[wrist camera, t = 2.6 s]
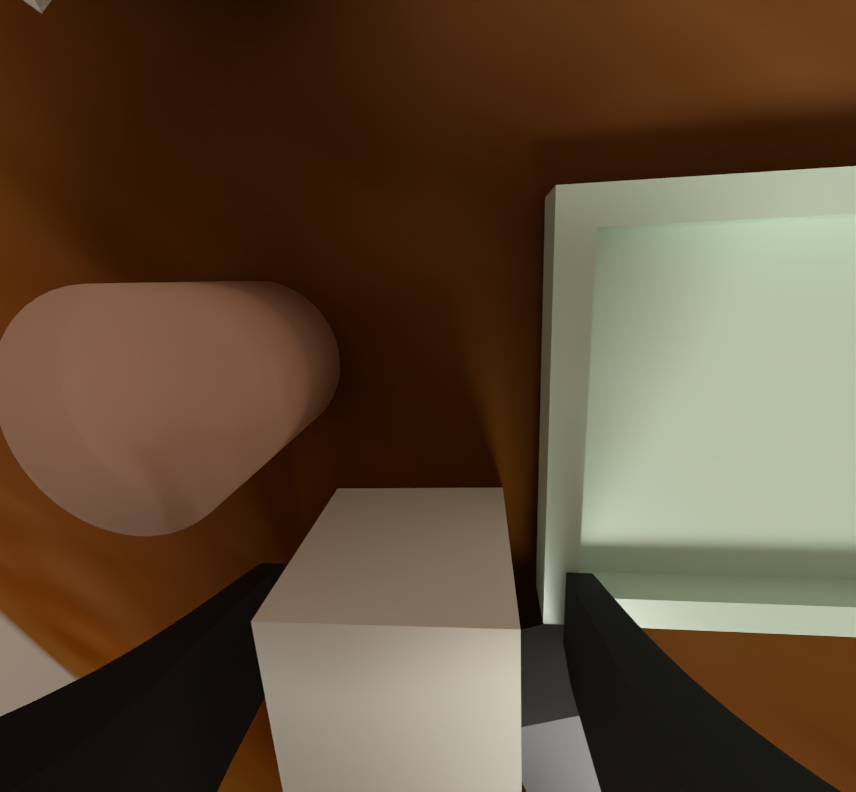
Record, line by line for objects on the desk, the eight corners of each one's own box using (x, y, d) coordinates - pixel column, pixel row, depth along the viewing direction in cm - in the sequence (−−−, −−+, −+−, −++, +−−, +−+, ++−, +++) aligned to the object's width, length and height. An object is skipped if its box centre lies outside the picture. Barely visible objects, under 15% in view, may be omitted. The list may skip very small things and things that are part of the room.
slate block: (643, 740, 14) (688, 864, 11) (547, 757, 14) (565, 880, 11) (595, 607, 13) (631, 705, 10) (494, 632, 13) (499, 731, 10)
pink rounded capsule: (347, 432, 12) (259, 539, 7) (205, 433, 12) (32, 533, 8) (332, 277, 11) (218, 277, 6) (179, 283, 11) (-42, 289, 6)
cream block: (505, 627, 13) (522, 833, 8) (354, 623, 14) (287, 815, 9) (502, 486, 12) (520, 629, 7) (338, 487, 12) (251, 621, 8)
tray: (939, 599, 11) (1002, 643, 10) (536, 586, 12) (543, 623, 11) (1066, 166, 9) (1173, 145, 7) (545, 197, 10) (555, 184, 9)
